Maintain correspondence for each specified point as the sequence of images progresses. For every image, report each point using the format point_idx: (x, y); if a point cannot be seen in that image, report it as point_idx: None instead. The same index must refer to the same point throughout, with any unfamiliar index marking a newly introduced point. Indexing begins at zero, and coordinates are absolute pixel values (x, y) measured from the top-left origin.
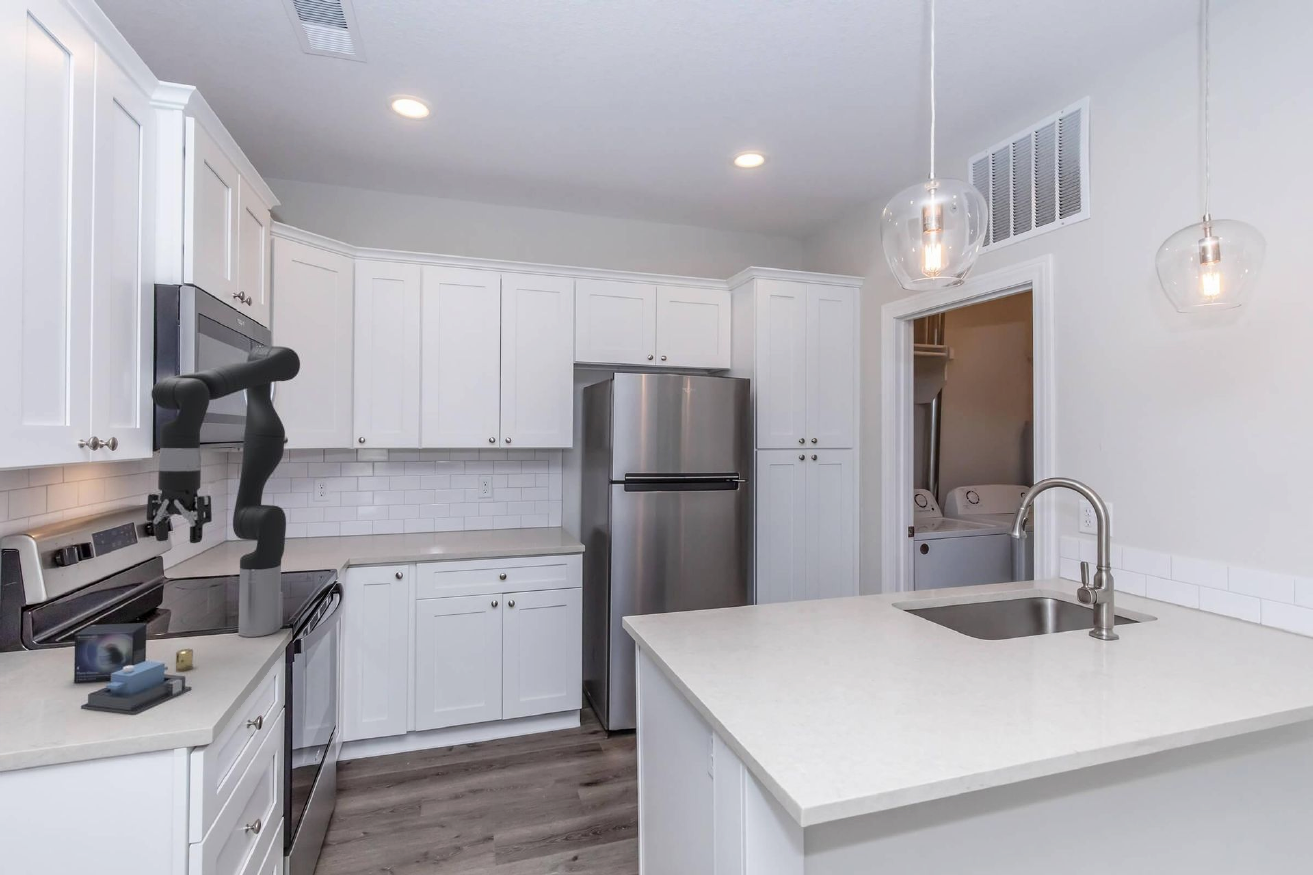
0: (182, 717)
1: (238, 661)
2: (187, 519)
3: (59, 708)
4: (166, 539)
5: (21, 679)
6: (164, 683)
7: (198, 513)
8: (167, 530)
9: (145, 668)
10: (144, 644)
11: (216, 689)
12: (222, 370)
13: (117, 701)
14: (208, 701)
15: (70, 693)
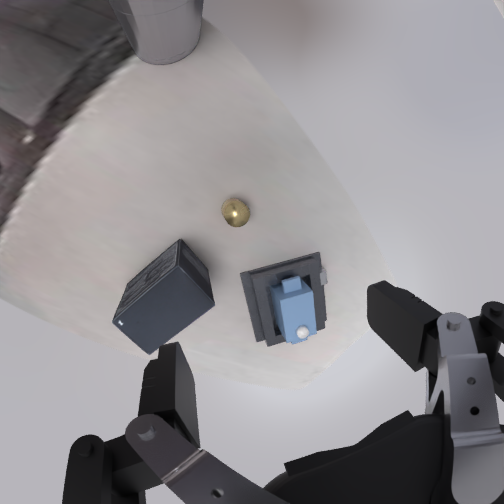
0: None
1: (278, 149)
2: (426, 406)
3: (234, 350)
4: (179, 347)
5: (89, 332)
6: (316, 288)
7: (500, 389)
8: (176, 377)
9: (308, 313)
10: (184, 257)
11: (345, 236)
12: None
13: None
14: (364, 262)
15: (193, 329)
